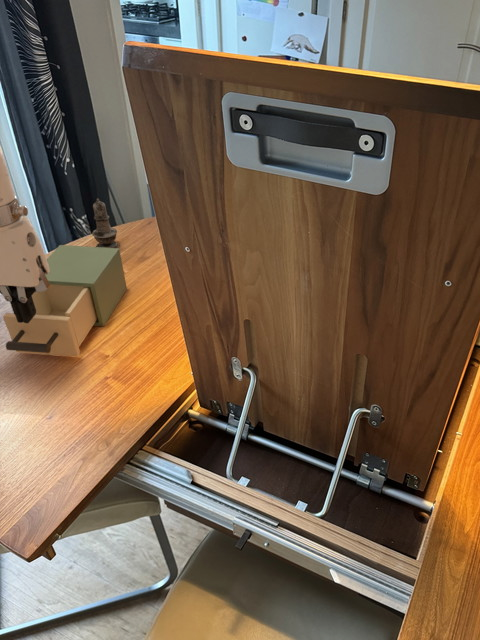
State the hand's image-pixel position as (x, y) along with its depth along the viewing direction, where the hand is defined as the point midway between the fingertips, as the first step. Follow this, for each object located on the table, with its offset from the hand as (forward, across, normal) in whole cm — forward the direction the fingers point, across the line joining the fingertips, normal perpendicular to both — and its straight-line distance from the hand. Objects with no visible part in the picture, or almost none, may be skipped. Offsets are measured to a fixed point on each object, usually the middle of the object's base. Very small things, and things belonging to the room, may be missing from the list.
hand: (27, 318), depth 86 cm
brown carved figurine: (+10, +5, -47) cm, 48 cm away
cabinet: (+10, 0, -20) cm, 22 cm away
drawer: (+9, 0, -6) cm, 11 cm away
